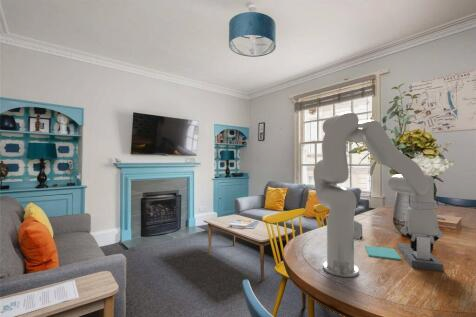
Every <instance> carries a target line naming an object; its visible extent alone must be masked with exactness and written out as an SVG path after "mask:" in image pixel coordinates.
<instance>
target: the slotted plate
mask: <svg viewBox="0 0 476 317" xmlns="http://www.w3.org/2000/svg"><path fill="white" fill-rule="evenodd" d="M396 249H397V250H398V251H399V253H400V254H401V255H402V256H403V258H404V259H405V260H406V262H407V263H408V264H409V266H410V268H416V269H422V270H424V269H425V270H431V271H439V272H444V264H443V262H441V261H440V259H438V258H437V257H436V256H435V255H434V254H433V253H430V261H425V260H416V259H415V258H414V257H413V250H412V248H411V247H410V243H406V242H396Z"/></svg>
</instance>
